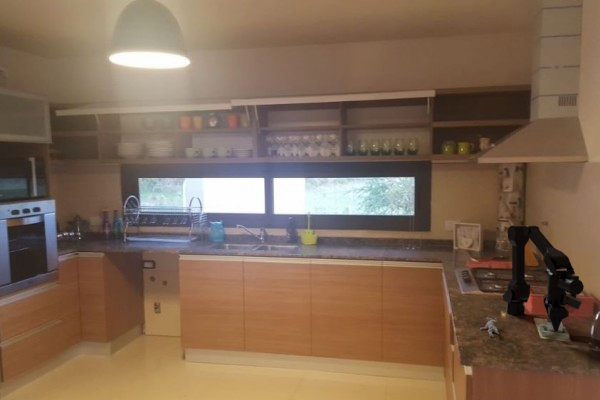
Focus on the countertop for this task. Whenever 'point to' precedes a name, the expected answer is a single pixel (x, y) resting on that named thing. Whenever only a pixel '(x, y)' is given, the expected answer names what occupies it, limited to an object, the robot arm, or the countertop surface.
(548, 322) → the engine block
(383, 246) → the countertop surface
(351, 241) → the countertop surface
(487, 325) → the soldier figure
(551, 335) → the chassis
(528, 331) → the countertop surface
